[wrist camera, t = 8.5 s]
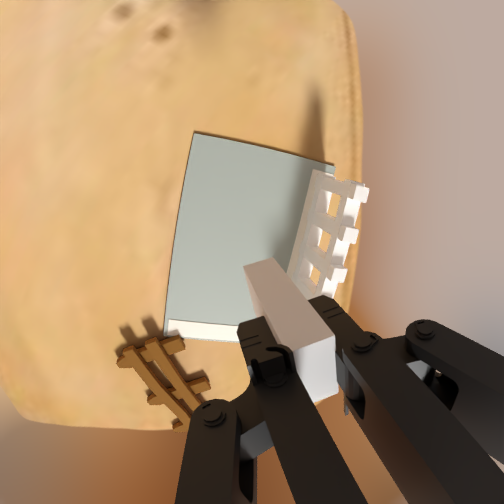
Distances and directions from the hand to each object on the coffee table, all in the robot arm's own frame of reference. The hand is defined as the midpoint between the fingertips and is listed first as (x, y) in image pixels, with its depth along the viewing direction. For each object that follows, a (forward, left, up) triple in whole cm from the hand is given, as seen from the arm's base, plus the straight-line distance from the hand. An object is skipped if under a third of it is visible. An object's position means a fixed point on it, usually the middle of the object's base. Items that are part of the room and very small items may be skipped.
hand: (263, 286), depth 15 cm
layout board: (+5, +4, -20) cm, 21 cm away
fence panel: (+3, +11, -19) cm, 23 cm away
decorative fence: (+29, -1, -20) cm, 35 cm away
